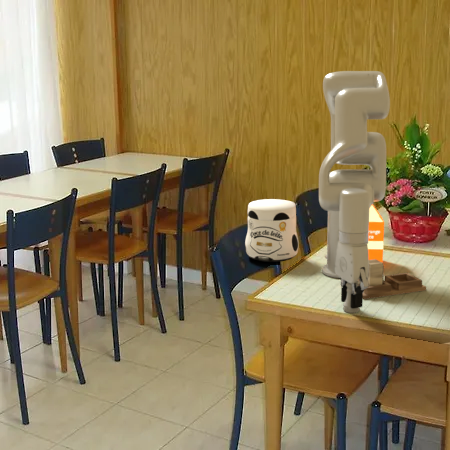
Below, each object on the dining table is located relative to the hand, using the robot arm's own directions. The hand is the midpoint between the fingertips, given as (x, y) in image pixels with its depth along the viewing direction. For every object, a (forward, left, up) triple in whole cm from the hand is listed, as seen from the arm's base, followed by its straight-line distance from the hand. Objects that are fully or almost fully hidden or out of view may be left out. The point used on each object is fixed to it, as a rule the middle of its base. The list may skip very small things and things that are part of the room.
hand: (351, 303), depth 189 cm
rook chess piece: (0, 0, -2) cm, 2 cm away
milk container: (-51, -1, -2) cm, 51 cm away
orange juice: (-34, +25, -2) cm, 42 cm away
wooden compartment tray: (-10, +17, -2) cm, 20 cm away
